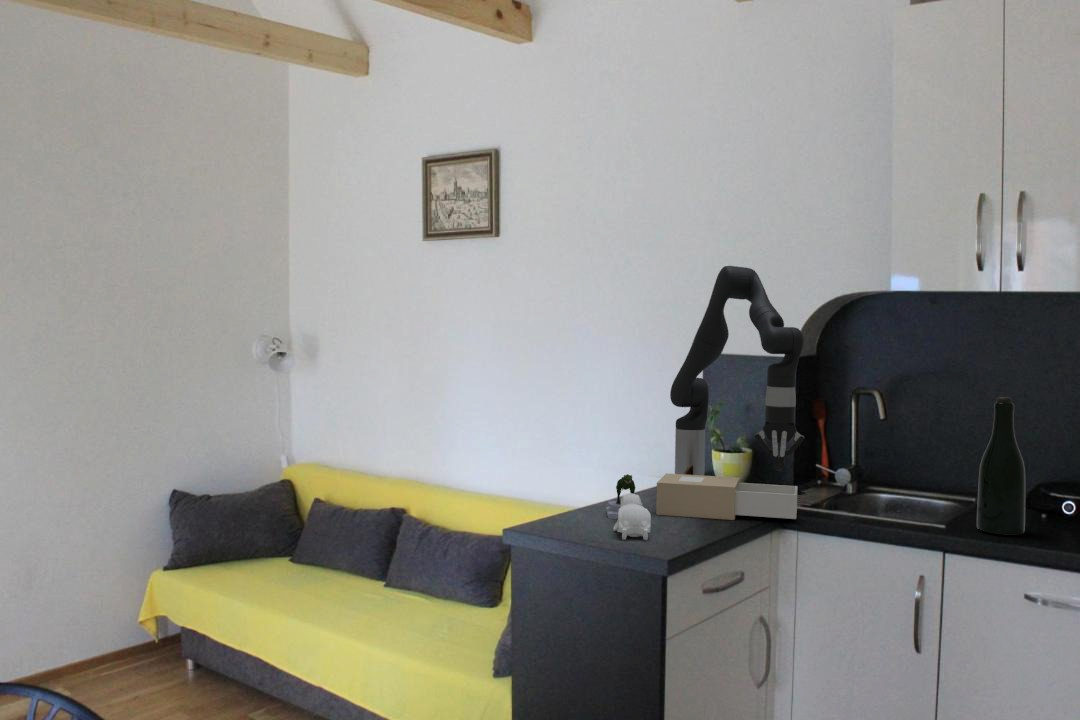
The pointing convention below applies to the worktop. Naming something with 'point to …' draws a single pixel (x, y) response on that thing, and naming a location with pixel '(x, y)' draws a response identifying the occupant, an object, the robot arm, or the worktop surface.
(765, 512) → the tray
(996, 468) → the beer bottle
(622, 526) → the white animal figurine
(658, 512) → the sleeve
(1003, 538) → the worktop surface
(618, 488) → the dinosaur figurine
